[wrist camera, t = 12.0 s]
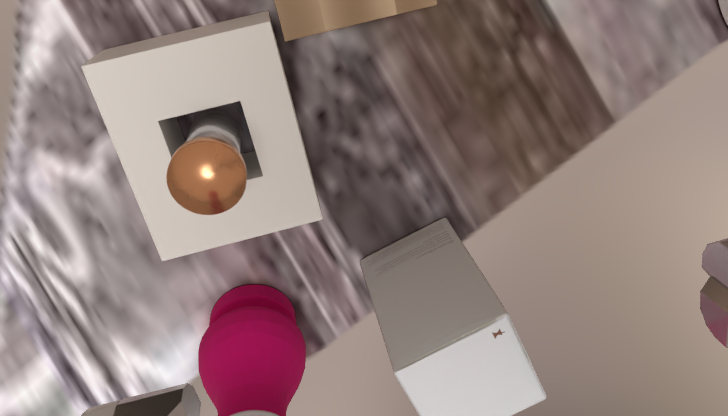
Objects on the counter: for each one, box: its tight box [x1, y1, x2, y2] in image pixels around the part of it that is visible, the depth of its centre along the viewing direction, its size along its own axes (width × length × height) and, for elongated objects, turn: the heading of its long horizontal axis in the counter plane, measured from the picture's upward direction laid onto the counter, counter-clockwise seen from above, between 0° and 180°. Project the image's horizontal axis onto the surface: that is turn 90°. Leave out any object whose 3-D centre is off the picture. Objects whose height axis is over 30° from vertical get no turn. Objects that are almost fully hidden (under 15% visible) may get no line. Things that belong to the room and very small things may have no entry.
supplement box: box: [360, 218, 546, 416], centre depth 40 cm, size 7×7×13 cm
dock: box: [81, 11, 323, 261], centre depth 36 cm, size 10×12×5 cm
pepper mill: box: [199, 284, 306, 416], centre depth 36 cm, size 7×7×20 cm
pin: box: [166, 103, 247, 215], centre depth 34 cm, size 4×4×10 cm
